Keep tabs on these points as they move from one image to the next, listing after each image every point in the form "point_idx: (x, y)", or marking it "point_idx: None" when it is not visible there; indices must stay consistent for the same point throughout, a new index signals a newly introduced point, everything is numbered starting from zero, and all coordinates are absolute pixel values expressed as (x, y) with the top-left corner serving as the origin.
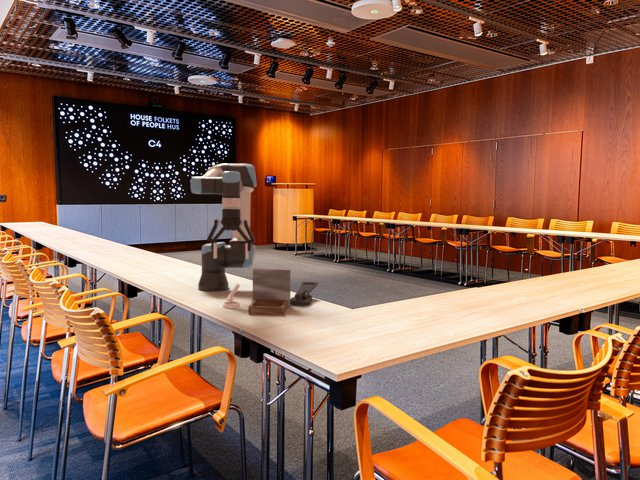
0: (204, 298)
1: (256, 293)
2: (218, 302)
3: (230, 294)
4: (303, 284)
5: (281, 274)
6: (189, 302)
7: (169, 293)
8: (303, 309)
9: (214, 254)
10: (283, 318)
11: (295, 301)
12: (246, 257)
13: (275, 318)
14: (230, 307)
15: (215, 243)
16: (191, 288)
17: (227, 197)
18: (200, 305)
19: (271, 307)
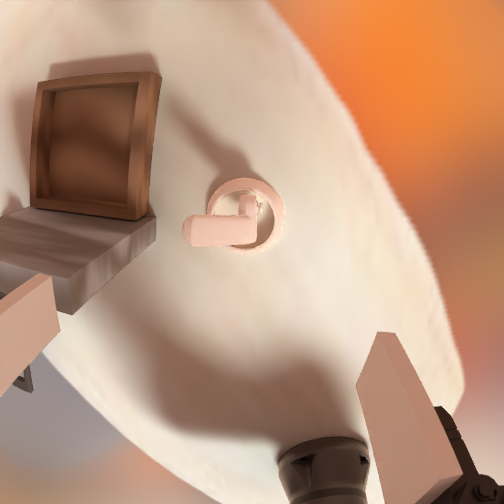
0: (359, 351)
1: (117, 228)
2: (305, 288)
3: (241, 216)
4: (24, 374)
5: None
6: (413, 288)
7: (451, 400)
8: (9, 174)
9: (399, 358)
10: (57, 47)
11: None
12: (34, 281)
13: (77, 41)
14: (243, 179)
15: (432, 479)
16: None
17: None
18: (374, 236)
19: (70, 77)
